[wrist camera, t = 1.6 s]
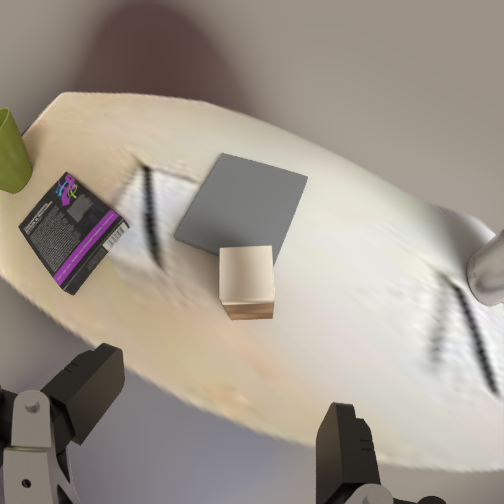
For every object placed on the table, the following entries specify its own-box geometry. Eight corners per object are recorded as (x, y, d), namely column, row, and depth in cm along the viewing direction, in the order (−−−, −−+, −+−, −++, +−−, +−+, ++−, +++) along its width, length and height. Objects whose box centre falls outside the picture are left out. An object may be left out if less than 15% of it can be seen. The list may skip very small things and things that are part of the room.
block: (270, 279, 38) (271, 245, 29) (272, 318, 36) (274, 295, 27) (230, 281, 38) (219, 248, 29) (231, 320, 36) (219, 298, 27)
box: (132, 230, 43) (73, 179, 48) (124, 218, 40) (65, 168, 45) (75, 298, 38) (26, 233, 44) (62, 291, 35) (15, 224, 40)
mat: (307, 180, 44) (307, 176, 43) (270, 274, 38) (270, 271, 37) (223, 157, 47) (222, 153, 46) (175, 239, 41) (173, 236, 40)
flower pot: (-5, 187, 50) (-42, 148, 35) (36, 145, 54) (5, 100, 39) (5, 220, 45) (-42, 177, 30) (52, 171, 49) (13, 118, 35)
